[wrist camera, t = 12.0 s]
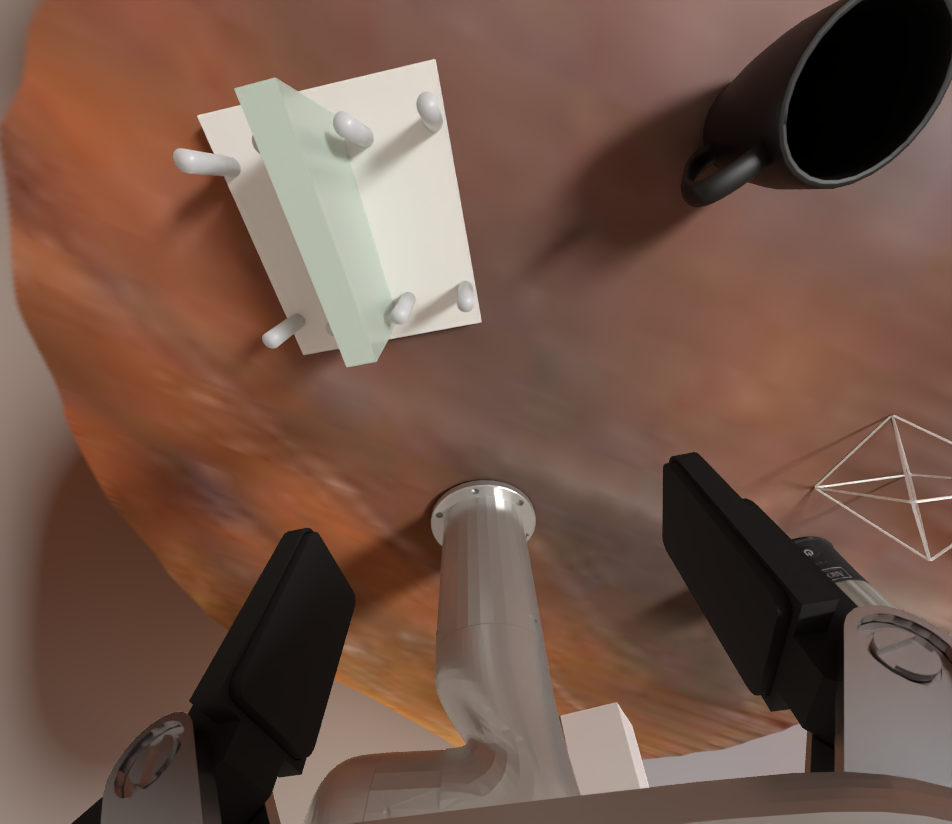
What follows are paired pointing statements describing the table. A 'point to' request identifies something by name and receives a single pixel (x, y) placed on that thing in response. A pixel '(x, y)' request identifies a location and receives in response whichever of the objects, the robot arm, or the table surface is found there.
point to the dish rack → (384, 199)
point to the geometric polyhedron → (911, 501)
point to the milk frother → (841, 572)
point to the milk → (603, 750)
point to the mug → (827, 100)
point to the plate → (323, 214)
